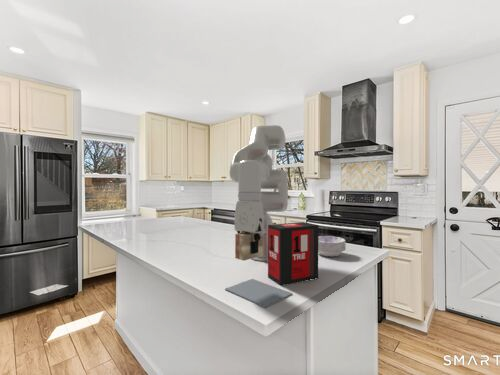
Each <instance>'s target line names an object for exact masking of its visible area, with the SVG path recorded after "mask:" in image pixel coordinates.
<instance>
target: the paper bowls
mask: <svg viewBox="0 0 500 375" xmlns="http://www.w3.org/2000/svg"><path fill="white" fill-rule="evenodd" d="M346 246H347V245H346V239H345V238H342V237H339V236H333V235H321V236H319V235H318V255H321V256H324V257H328V256H330V257H329V258H334V256H335V257H339V256H340V255H341V254H342V252H345V251H346Z"/></svg>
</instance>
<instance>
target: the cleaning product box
mask: <svg viewBox="0 0 500 375" xmlns="http://www.w3.org/2000/svg"><path fill="white" fill-rule="evenodd" d="M318 237H319V225H318V224H314V223H309V222H303V221H301V222H300V221H299V222H291V223H290V222H288V223H277V224H276V223H274V224H273V225H268V261H267V278H268V279H269V280H271V281H273V282H274V283H275V284H276V285H279V286H281V287H282V286H287V284H288V285H292V283H293V284H297V282H298V283H301V282H302V281H303V282H307V281H306V280H308V281H311V280H310V279H314V280H316V279H315V278H318V279H319V252H318Z"/></svg>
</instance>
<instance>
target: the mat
mask: <svg viewBox="0 0 500 375" xmlns="http://www.w3.org/2000/svg"><path fill="white" fill-rule="evenodd" d="M224 290H225V291H226V292H229V293H231V294H233V295H235V296H238V297H240V298H242V299H245V300H247V301H249V302H252V303H254V304H255V305H257V306H260V307H262V308H263V309H264V308H265V309H266V308H269V307H271V306H272V305H275V304H276V303H279V301H283V300H284V299H286V298H288V297H290V296H292V295H293V293H292V292H290V291H287V290H284V289H282V288H280V287H277V286H274V285H271V284H268V283H264V282H262V281H259V280H256V279H254V278H250V279H247V280H246V281H245V280H244V281H243V282H239V283H236V284H233V285H231V286H228V287H226V288H224Z"/></svg>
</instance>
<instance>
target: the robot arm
mask: <svg viewBox="0 0 500 375" xmlns="http://www.w3.org/2000/svg"><path fill="white" fill-rule="evenodd" d="M286 142H287V141H286V134H285V131H284V129H283V127H282V126H280V125H276V124H274V125H273V124H272V125H259V126H258V125H257V126H255V127H254V128H252V130H251V131H250V135H249V138H248V142H247V143H248V144H246V146H244V147H242V148H240V149H239V150H237V151H236V153H234V155H233V157H232V160H231V163H230V166H229V177H230V180H231V181H232V182H234V183H238V194H237V198H238V199H237V201H236V205H235V210H234V220H233V221H234V230H235V231H236V234H238V233H244V232H249V233H251V238H252V241H251V254H254V253H258V241H260V238H261V237H262V236H263V255H262V256H259V257H255V258H251V259H250V260H254V261H260V262H266V261H267V262H268V225H273V219H272V217H271V216H270V214H268V213H269V212H273V213H274V212H278V213H281V212H282V213H283V212H285V211H287V209H288V204H289V202H288V201H289V196H288V195H289V191H288V190H289V188H288V187H289V181H288V180H289V179H288V174H287V172H286V171H285V169H280V168H279V169H273V158H272V157H271V156H270V155H269V151H280V150H283V149H284V148H285V146H286ZM263 190H277V191H263ZM259 232H260V233H259ZM255 233H256V236H255Z"/></svg>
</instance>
